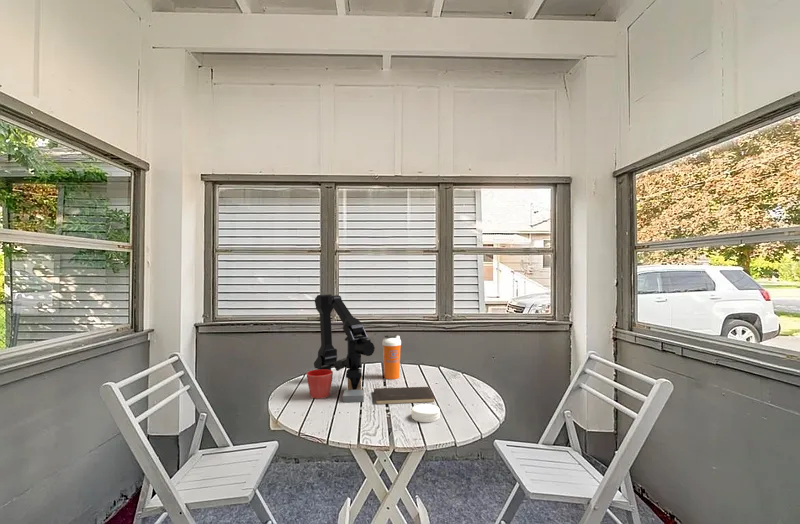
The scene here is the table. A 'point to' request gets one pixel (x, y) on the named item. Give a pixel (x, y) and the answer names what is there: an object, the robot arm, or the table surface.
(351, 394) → the grey box
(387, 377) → the shaker bottle
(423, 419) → the coaster
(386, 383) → the table surface
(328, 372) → the flower pot
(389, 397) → the hardcover book
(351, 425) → the table surface
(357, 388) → the tan block
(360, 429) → the table surface
